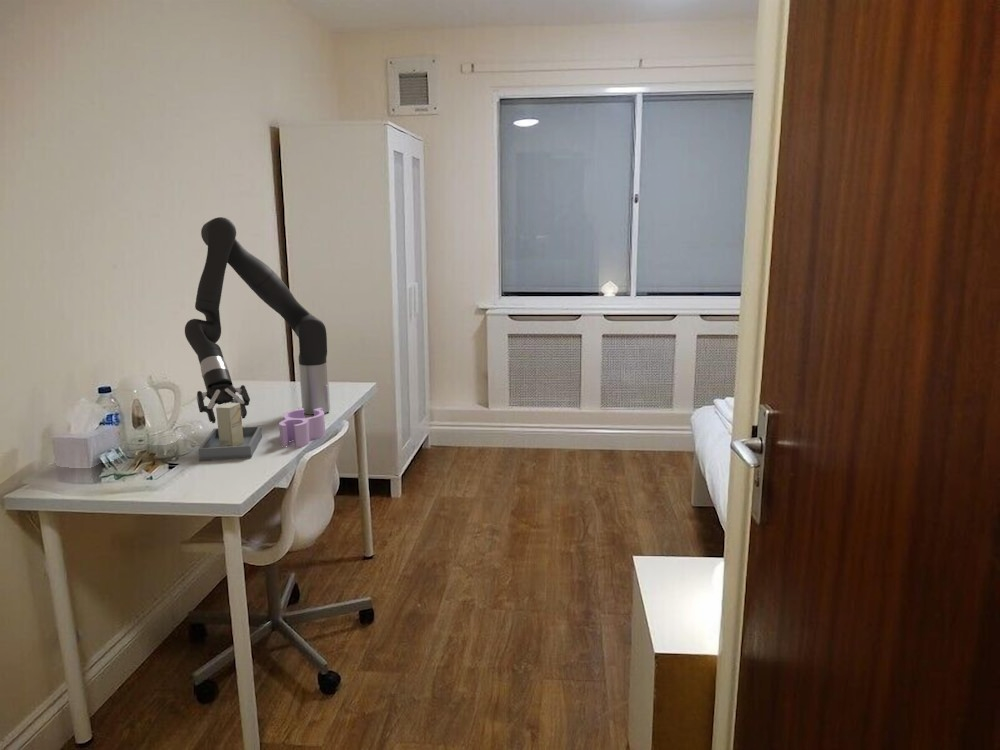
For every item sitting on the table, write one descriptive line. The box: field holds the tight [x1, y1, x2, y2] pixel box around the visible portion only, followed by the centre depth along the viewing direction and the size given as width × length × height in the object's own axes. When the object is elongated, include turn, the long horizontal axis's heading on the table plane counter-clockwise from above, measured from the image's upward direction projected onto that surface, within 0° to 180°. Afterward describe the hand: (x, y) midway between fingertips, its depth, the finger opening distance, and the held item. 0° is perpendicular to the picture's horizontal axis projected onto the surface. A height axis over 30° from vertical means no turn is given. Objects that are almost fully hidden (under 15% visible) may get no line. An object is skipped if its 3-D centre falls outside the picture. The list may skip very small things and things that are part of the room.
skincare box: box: [215, 402, 244, 447], centre depth 212 cm, size 6×4×12 cm
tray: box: [197, 425, 263, 462], centre depth 213 cm, size 14×20×4 cm
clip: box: [278, 407, 326, 448], centre depth 223 cm, size 20×12×7 cm, turn 176°
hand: (229, 419), depth 212 cm, fingers open, 8 cm apart
